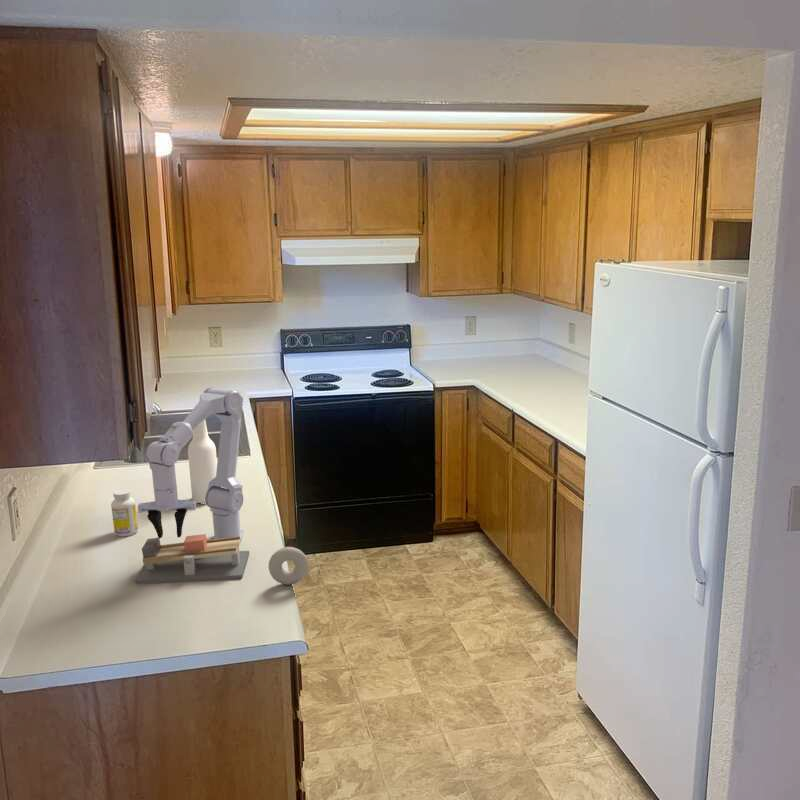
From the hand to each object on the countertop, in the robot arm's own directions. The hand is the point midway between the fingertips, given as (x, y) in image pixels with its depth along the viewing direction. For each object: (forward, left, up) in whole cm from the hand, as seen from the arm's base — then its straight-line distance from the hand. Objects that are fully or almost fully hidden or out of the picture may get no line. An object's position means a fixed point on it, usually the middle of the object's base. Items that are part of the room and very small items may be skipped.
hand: (170, 536), depth 209 cm
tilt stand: (0, +6, -9) cm, 11 cm away
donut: (+12, +32, -10) cm, 35 cm away
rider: (0, +7, -4) cm, 8 cm away
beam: (0, +6, -4) cm, 7 cm away
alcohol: (-52, 0, -10) cm, 53 cm away
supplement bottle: (-27, -19, -10) cm, 35 cm away
